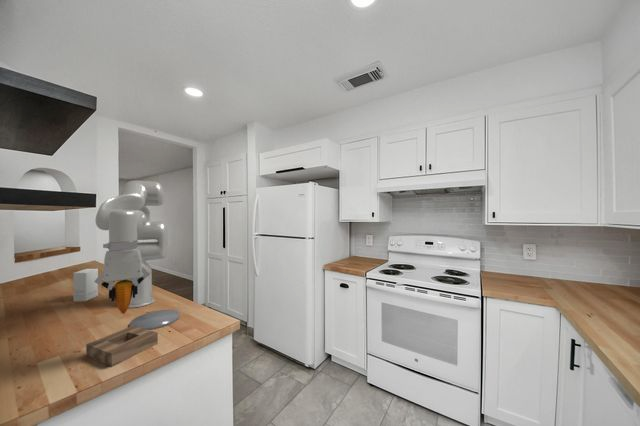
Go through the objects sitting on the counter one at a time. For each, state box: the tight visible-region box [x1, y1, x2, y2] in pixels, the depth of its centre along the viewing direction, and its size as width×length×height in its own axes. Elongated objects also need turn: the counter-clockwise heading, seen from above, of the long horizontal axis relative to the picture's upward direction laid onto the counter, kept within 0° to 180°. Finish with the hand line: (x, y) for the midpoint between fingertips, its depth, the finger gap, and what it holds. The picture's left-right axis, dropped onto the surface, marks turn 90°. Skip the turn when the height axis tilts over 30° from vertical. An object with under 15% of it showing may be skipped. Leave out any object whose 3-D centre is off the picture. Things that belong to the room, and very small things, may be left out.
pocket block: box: [85, 326, 159, 368], centre depth 82 cm, size 14×14×4 cm
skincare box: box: [73, 268, 99, 302], centre depth 130 cm, size 8×7×16 cm
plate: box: [129, 309, 181, 331], centre depth 104 cm, size 18×18×1 cm
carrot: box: [113, 280, 133, 314], centre depth 82 cm, size 5×5×15 cm
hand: (123, 297), depth 82 cm, fingers closed on carrot, 4 cm apart
